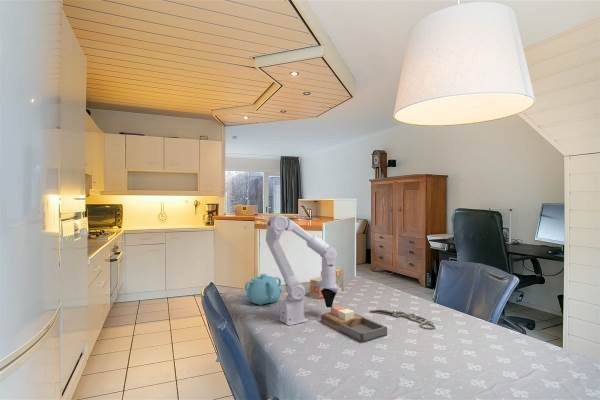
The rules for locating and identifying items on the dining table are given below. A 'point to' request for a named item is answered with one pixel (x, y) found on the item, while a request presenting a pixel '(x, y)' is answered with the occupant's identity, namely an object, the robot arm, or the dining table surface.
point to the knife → (408, 317)
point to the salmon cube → (336, 310)
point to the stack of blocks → (316, 291)
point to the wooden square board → (340, 320)
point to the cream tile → (346, 314)
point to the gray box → (364, 331)
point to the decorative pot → (263, 289)
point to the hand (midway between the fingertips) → (329, 306)
